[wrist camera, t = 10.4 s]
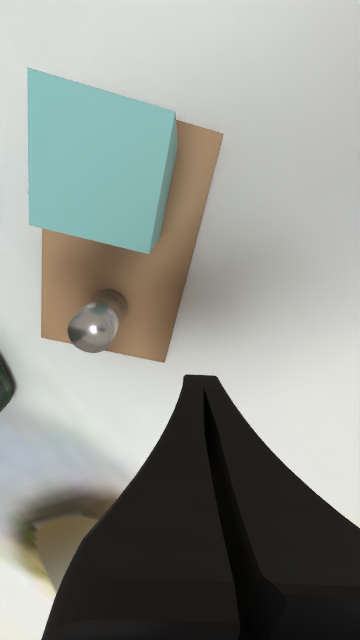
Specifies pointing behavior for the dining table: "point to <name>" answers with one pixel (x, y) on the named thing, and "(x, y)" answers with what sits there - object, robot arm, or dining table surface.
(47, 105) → the teal foam brick
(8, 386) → the coffee jar
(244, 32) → the dining table surface
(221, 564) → the robot arm
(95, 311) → the round post
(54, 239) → the stand plate
